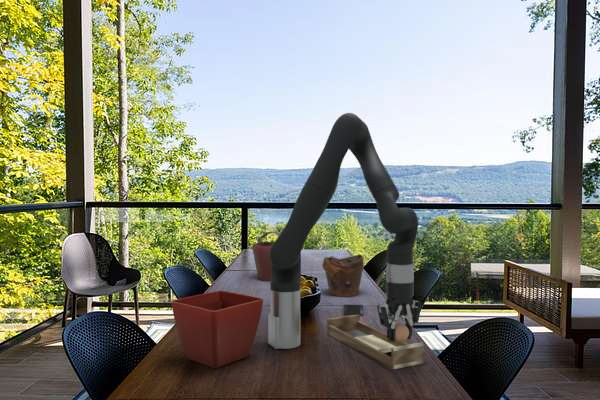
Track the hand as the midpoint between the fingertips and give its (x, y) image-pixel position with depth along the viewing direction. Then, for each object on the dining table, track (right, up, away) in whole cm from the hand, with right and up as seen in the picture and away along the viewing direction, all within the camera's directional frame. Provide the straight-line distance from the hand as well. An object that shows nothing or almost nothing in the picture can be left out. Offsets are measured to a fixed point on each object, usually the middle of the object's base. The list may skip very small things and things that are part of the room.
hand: (399, 339), depth 134 cm
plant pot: (-51, -6, +3) cm, 52 cm away
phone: (-7, -5, +54) cm, 55 cm away
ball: (0, +2, 0) cm, 2 cm away
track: (-6, -6, +12) cm, 15 cm away
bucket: (-41, -3, +121) cm, 128 cm away
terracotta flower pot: (-8, -4, +85) cm, 85 cm away
